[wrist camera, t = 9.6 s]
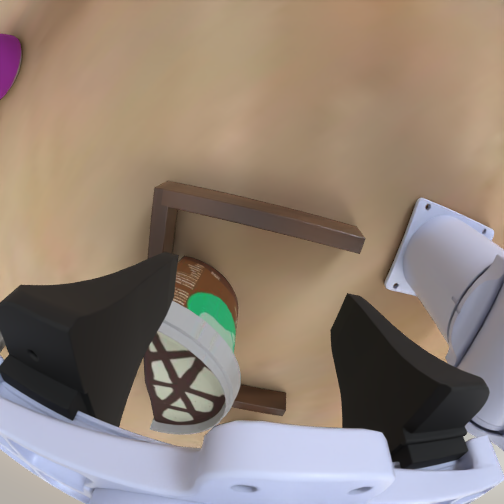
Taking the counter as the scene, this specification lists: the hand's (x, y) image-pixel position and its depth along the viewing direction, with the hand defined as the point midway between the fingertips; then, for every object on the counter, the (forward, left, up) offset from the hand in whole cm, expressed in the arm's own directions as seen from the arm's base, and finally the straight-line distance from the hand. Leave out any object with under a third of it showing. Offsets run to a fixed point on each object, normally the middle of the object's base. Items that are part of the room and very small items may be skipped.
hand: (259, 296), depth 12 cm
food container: (+2, +9, -11) cm, 14 cm away
